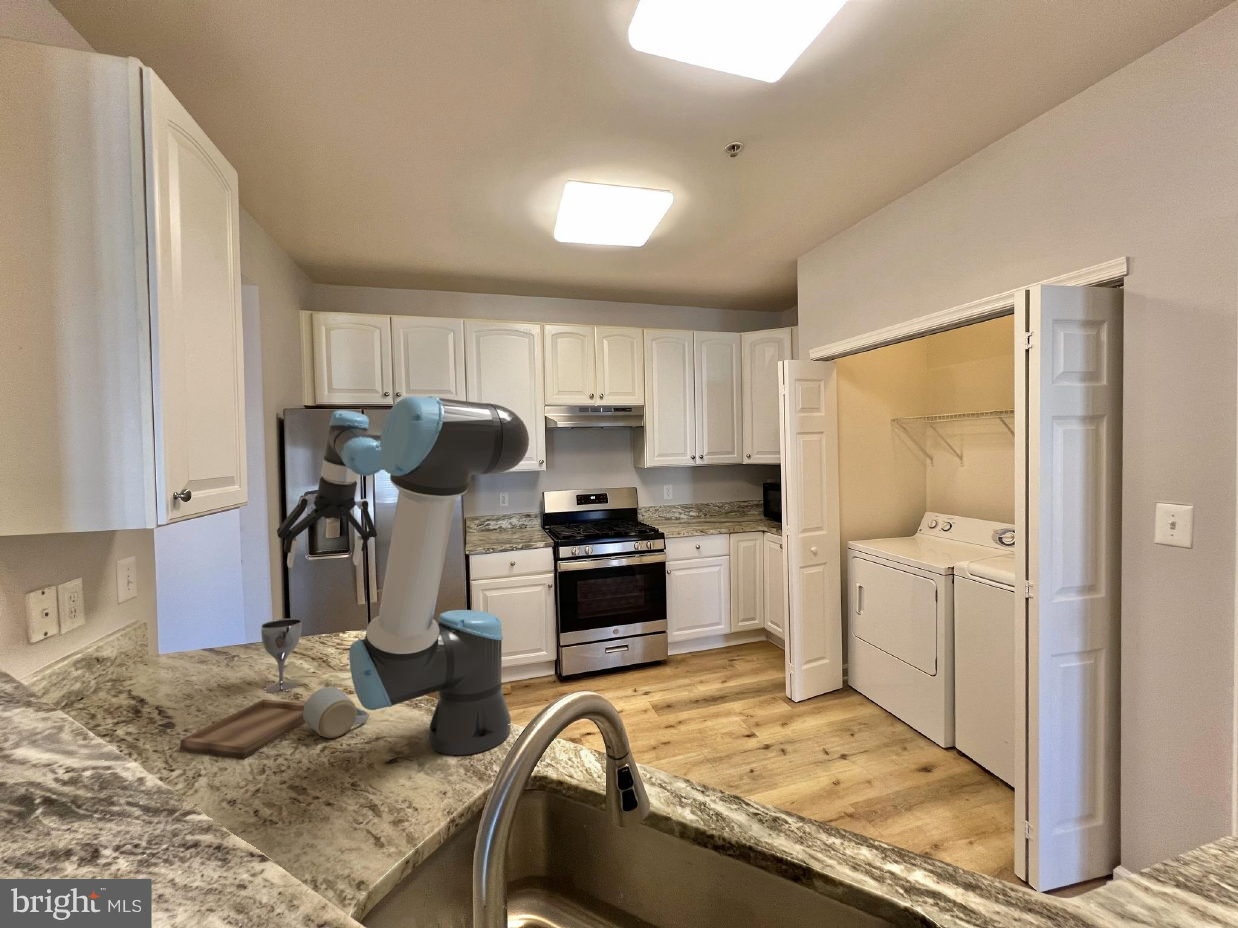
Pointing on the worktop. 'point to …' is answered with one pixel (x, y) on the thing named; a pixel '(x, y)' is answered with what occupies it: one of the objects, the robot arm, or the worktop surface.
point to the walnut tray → (246, 730)
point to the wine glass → (281, 647)
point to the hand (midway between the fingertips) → (323, 563)
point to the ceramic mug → (332, 712)
